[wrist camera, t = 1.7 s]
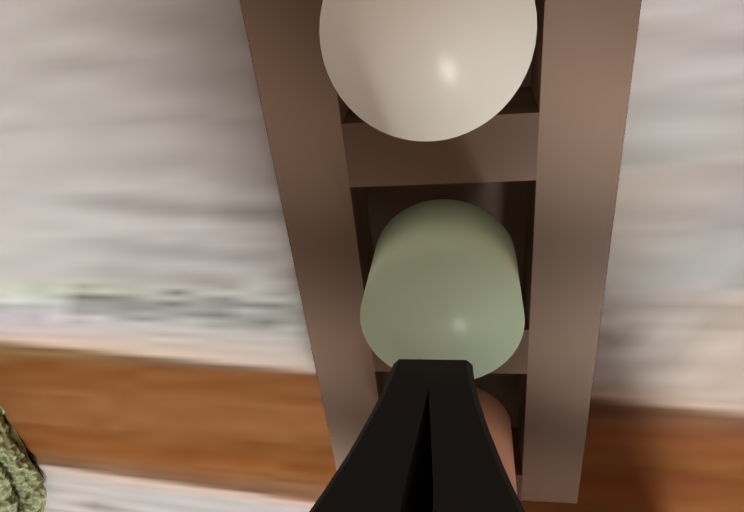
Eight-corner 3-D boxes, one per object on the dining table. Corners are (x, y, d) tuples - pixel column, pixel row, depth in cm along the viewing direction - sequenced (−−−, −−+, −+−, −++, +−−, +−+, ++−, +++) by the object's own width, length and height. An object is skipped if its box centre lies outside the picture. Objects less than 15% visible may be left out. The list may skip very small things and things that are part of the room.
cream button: (521, 95, 12) (532, 136, 10) (356, 105, 13) (334, 146, 11) (526, -102, 10) (542, -103, 8) (333, -79, 11) (302, -74, 9)
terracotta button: (509, 466, 18) (515, 539, 16) (398, 461, 19) (390, 531, 17) (512, 383, 17) (519, 454, 14) (389, 381, 17) (378, 448, 15)
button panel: (564, 432, 21) (577, 503, 19) (354, 425, 23) (340, 490, 20) (628, -214, 12) (672, -244, 9) (254, -159, 13) (204, -172, 11)
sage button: (514, 317, 15) (522, 384, 13) (381, 317, 16) (369, 381, 14) (518, 196, 14) (527, 251, 11) (367, 201, 14) (350, 254, 12)
